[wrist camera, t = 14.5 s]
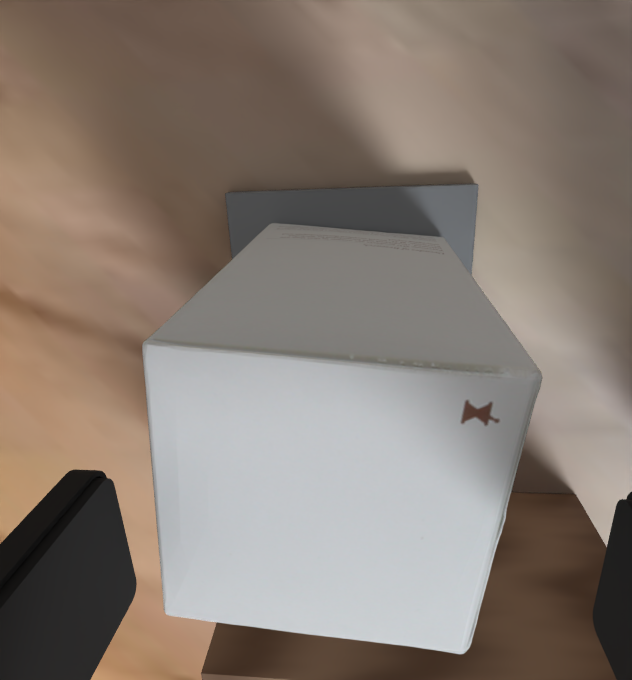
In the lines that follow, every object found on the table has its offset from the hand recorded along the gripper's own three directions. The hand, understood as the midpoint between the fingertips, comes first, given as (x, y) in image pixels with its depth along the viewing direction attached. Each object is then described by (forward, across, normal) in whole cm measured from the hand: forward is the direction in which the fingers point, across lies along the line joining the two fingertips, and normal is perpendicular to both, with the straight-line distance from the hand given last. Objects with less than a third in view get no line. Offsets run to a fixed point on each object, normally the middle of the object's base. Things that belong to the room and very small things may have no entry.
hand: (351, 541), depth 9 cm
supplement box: (+13, +1, 0) cm, 13 cm away
